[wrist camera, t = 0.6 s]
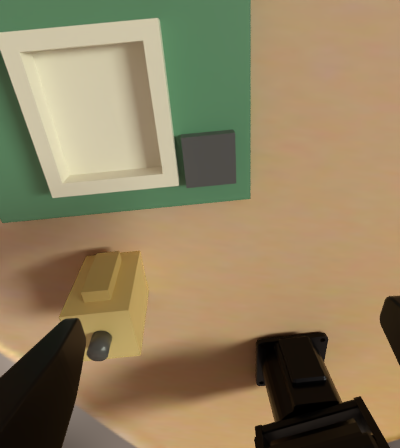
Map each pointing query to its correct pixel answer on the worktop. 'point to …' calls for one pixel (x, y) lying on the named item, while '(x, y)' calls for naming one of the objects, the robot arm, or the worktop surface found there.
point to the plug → (110, 304)
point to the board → (122, 105)
